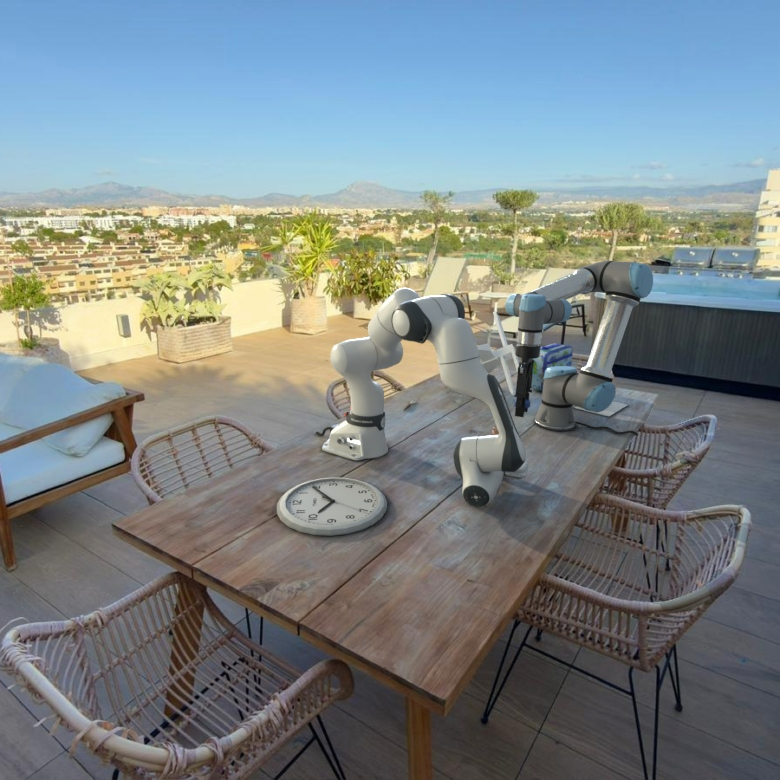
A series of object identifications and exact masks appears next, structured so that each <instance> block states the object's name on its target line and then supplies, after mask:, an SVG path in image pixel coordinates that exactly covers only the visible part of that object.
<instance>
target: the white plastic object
mask: <svg viewBox="0 0 780 780" xmlns="http://www.w3.org/2000/svg"><path fill="white" fill-rule="evenodd" d="M492 315H493V319H494V321H495V324H496V325H495V326H496V328H497V332H498V335H499V338H500V342H501V345H502V347H500V348H498V349H496V350H495V349H493V348H492V347H491V346H490V344H489V343H488V342H487V343H483V344H479V345H478V344H477V347H478V352H479V357H480V361H481V363H482V365H483V367H484V369H485V370H486V371H487V372H488V373H489V374H491V373H492V372H494V371H495V370H496V369H497V368H499V367H500V366H502V370H503V373H504V376H505V380H506V383H507V386H508V390H509V393H510V394H511V395H512V397H514V395H515V394H516V387H515V385H514V381H513V378H512V375H511V371H510V369H509V365H508V361H510V360H513V363H514V366H515V369H516V372H517V374H518V367H519V362H520V359H519V357H518V356H516V354H515V352H516V347H515V346H514V345H513V343H511V344H508V341H507V337H506V334H505V331H504V328H503V325H502V321H501V318H500V315H499V314H498V312H497V311H496V310H495V311H492ZM440 381H442V379H441V378H440ZM528 393H530V392H528ZM529 396H531V395H530V394H529ZM515 399H517V397H514V400H515Z"/></svg>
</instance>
